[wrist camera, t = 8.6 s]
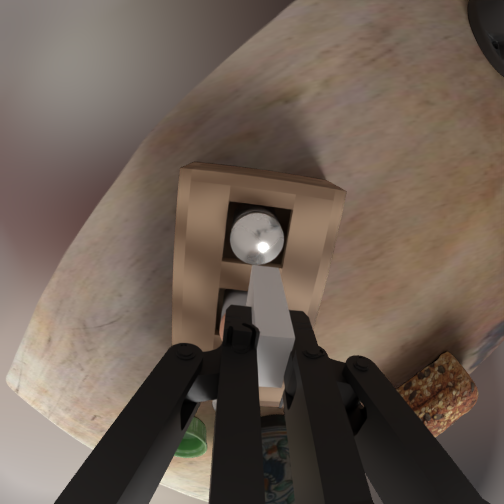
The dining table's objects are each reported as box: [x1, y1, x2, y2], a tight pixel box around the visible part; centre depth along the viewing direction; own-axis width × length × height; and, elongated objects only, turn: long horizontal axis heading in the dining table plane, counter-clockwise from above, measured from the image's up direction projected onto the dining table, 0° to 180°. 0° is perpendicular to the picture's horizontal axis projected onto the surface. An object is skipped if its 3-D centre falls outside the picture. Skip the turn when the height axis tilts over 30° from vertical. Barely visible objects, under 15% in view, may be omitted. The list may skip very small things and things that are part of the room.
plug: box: [230, 203, 284, 265], centre depth 28 cm, size 4×4×6 cm
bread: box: [396, 351, 478, 437], centre depth 40 cm, size 19×11×10 cm, turn 134°
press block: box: [172, 162, 347, 407], centre depth 32 cm, size 26×14×7 cm, turn 172°
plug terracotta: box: [219, 289, 248, 341], centre depth 29 cm, size 4×4×6 cm
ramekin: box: [174, 417, 207, 458], centre depth 43 cm, size 9×9×4 cm
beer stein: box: [261, 414, 295, 504], centre depth 36 cm, size 16×19×25 cm
